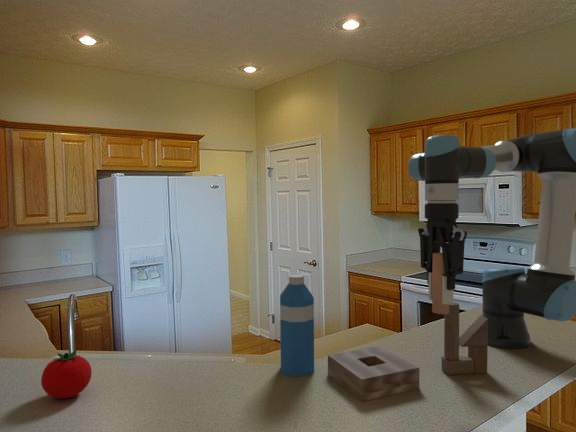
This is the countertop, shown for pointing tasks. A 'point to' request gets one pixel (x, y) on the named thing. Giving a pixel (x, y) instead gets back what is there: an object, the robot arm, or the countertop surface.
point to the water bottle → (297, 328)
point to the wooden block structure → (464, 344)
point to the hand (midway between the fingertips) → (440, 300)
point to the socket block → (373, 372)
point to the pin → (438, 284)
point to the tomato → (66, 375)
